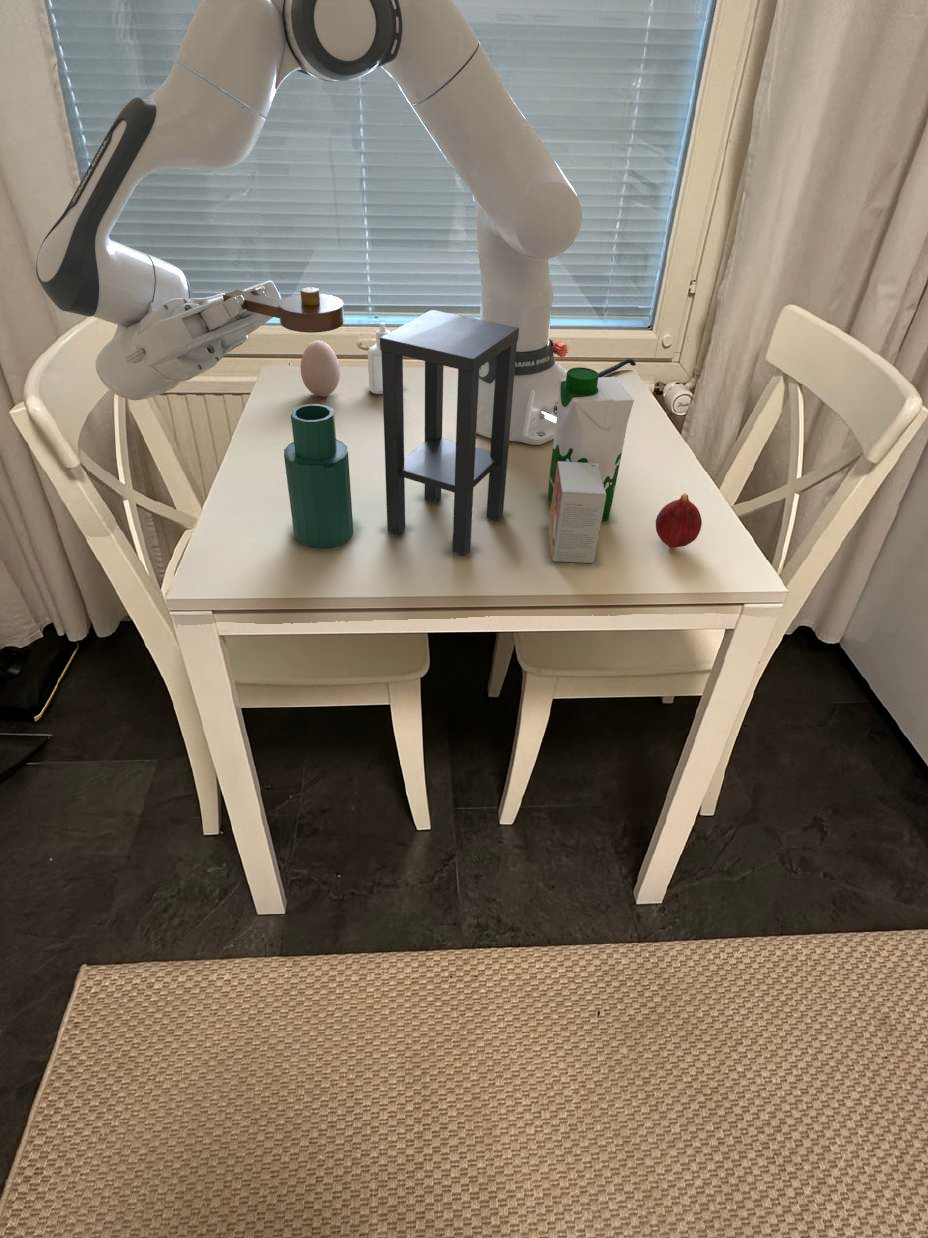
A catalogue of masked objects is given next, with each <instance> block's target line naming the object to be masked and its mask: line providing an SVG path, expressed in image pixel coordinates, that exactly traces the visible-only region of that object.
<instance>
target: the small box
mask: <svg viewBox="0 0 928 1238" xmlns="http://www.w3.org/2000/svg"><path fill="white" fill-rule="evenodd" d="M605 500H606V492H605V488H604V484H603V480H602V476H601V471H600V464H598V463H580V462H561V461H558V462H557V467H556V475H555V482H554V489H553V496H552V504H551V503H550V512H549V517H548V518H549V520H548V527H547V529H548V535H549V546H550V553H551V555H550V556H551V562H560V563H561V562H562V563H564V562H565V563H581V564H594V562H595V558H596V552H597V547H598V541H599V536H600V531H601V526H602V521H603V520H602V516H603V511H604V505H605Z"/></svg>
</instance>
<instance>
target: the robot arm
mask: <svg viewBox="0 0 928 1238" xmlns="http://www.w3.org/2000/svg"><path fill="white" fill-rule="evenodd" d="M175 59H176V60H174V63H173V65H172V68H171V70H170V72H169V73H168V76H167V77H166V79H165V80H164V81H163V82H162V83H161V84H160V86H158V88H157V89H156V90H155V91H153V92H152V93H151V94H150V95H148V96H146V97H145V96H142V97H134V98H132V99H131V100H129V101H128V102H127V103H126V105H125V106H124V107H123V108H122V110H121V111H120V112H119V114H118V115H117V117H116V119H115V120H114V121H113V123H112V125H111V126H110V128H109V130H108V131H107V133H106V134H105V137H104V138H103V140H102V142H101V144H100V146H99V147H98V149H97V150H96V153H95V155H94V156H93V158H92V160H91V162H90V164H89V166H88V167H87V170H86V171H85V173H84V175H83V177H82V178H81V181H80V182H79V184H78V186H77V187H76V189H75V192H74V193H73V195H72V197H71V199H70V201H69V203H68V205H67V206H66V208H65V210H64V211H63V213H62V214H61V216H60V217H59V218H58V220H57V221H56V222H55V223H54V225H53V226H52V228H50V230H49V231H48V232H47V234H46V235H45V237H44V239H43V241H42V243H41V245H40V247H39V250H38V253H37V257H36V262H35V273H36V278H37V279H38V282H39V284H40V286H41V288H42V290H43V291H44V292H45V294H46V295H47V297H48V298H49V300H50V301H51V302H52V303H53V304H54V305H55V306H56V307H57V308H58V309H59V310H61V312H67V313H70V314H75V315H80V316H85V317H88V318H92V317H93V318H95V319H99V320H102V321H105V322H107V323H111V324H114V325H117V326H116V330H115V332H114V334H113V337H112V339H111V340H110V341H108V342H107V343H106V345H104V346H103V348H102V349H101V350H100V352H99V353H98V355H97V356H96V359H95V370H96V373H97V376H98V378H99V380H100V381H101V383H102V384H103V385H104V386H105V387H106V388H107V389H108V390H109V391H110V392H111V393H113V394H115V395H116V396H118V397H120V398H123V399H125V400H129V401H143V400H148V399H152V398H155V397H158V396H161V395H162V394H164V393H166V392H168V391H170V390H172V389H174V388H175V387H177V386H178V385H179V384H180V383H182V382H183V383H184V382H186V381H190V380H192V379H193V378H195V377H197V376H199V375H201V374H202V373H205V372H206V371H209V370H210V369H212V368H214V367H215V366H216V365H217V364H218V363H219V362H220V361H221V360H222V359H223V358H224V357H226V355H227V354H228V353H230V352H231V351H233V350H234V349H235V348H237V347H239V346H241V345H243V344H244V343H245V342H248V340H249V336H248V335H250V334H251V333H254V331H256V330H257V329H259V328H260V327H262V326H263V325H264V324H266V323H267V322H268V321H270V320H271V319H273V318H274V317H271V316H267V315H263V314H259V313H254V312H250V311H246V310H247V309H248V306H247V304H246V303H245V302H244V298H243V297H242V295H237V296H234V297H232V298H229V299H228V300H226V301H224V300H223V295H224V294H225V292H221V293H217V294H213V295H209V296H204V297H203V296H202V297H195V295H194V292H193V289H192V287H191V283H190V281H189V280H188V279H189V278H187V276H186V274H185V273H184V271H183V270H182V269H181V268H180V267H179V266H176V265H174V264H172V263H170V262H168V261H165V260H163V259H160V258H159V257H156V256H153V255H151V254H149V253H146V252H142V251H140V250H137V249H134V248H132V247H130V246H127V245H125V244H122V243H120V242H117V241H115V240H113V239H110V238H109V237H110V234H111V232H112V230H113V228H114V226H115V225H116V223H117V221H118V220H119V218H120V216H121V214H122V213H123V211H124V209H125V207H126V205H127V203H128V202H129V200H130V198H131V196H132V194H133V193H134V191H135V189H136V187H137V185H138V184H139V183H140V182H141V181H142V180H143V179H144V178H145V177H147V176H149V175H150V174H152V173H155V172H158V171H166V170H185V171H186V170H187V171H195V172H207V173H208V172H209V173H210V172H220V171H221V172H222V171H225V170H228V169H231V168H234V167H236V166H238V165H240V164H242V163H243V162H244V161H246V160H247V158H248V157H249V156H250V154H251V153H252V151H253V150H254V148H255V146H256V144H257V142H258V140H259V138H260V135H261V133H262V130H263V128H264V125H265V122H266V118H268V114H269V113H270V112H269V111H270V109H271V106H272V103H273V101H274V99H275V95H276V93H277V91H278V90H279V88H280V87H281V85H282V83H283V82H284V80H285V79H286V78H287V77H289V75H291V74H292V73H294V72H299V73H302V74H304V75H307V76H310V77H314V78H316V79H318V80H321V81H324V82H328V83H329V82H330V83H339V82H349V81H354V80H357V79H360V78H362V77H365V76H367V75H368V74H370V73H371V72H373V71H375V70H377V69H379V68H381V69H383V70H384V71H385V72H386V73H387V74H388V76H390V77H391V79H392V80H393V81H395V83H396V84H397V86H398V87H399V89H400V91H401V92H402V94H403V95H404V96H403V97H405V99H406V101H407V102H408V103H409V105H410V107H411V108H412V110H413V111H414V113H415V115H416V116H417V117H418V119H419V121H420V122H421V124H422V125H423V127H424V128H425V130H426V131H427V133H428V134H429V135H430V137H431V139H432V140H433V142H434V143H435V145H436V146H437V148H438V149H439V151H440V152H441V154H442V155H443V157H444V159H445V160H446V161H447V163H448V164H449V165H450V166H451V167H452V169H453V171H455V173H456V174H457V176H458V177H459V178H460V180H461V181H462V182H463V184H464V185H465V186H466V188H467V189H468V190H469V191H470V193H471V194H472V197H473V198H472V200H473V203H474V208H475V209H474V210H475V219H476V220H475V221H476V236H477V237H476V239H477V240H476V241H477V251H478V252H477V253H478V263H479V264H478V265H479V272H480V274H479V275H480V310H479V320H484V321H488V322H493V323H498V324H503V325H507V326H512V327H517V328H519V335H518V341H517V348H516V360H515V373H514V385H513V398H512V410H511V422H510V435H509V442H519V443H523V444H527V445H531V446H539V445H544V444H546V443H547V442H550V441H552V440H554V434H555V426H556V417H557V405H558V390H559V379H560V378H566V376H567V371H568V370H566V369H565V368H564V367H562V366H561V365H560V364H559V363H557V362H556V359H555V355H557V356H558V357H560V358H564V357H566V356H567V354H568V352H569V346H568V345H567V344H566V343H562V341H558V340H557V341H556V342H554V340H552V339H550V327H551V326H550V325H551V319H552V318H551V317H552V308H553V299H554V287H553V286H554V285H553V281H552V279H551V273H550V264H549V259H553V258H557V257H558V256H560V255H562V254H564V253H565V252H566V251H567V250H568V249H570V247H571V246H572V245H573V244H574V242H575V241H576V239H577V237H578V235H579V233H580V231H581V226H582V221H583V209H582V204H581V201H580V198H579V196H578V195H577V193H576V191H575V190H574V188H573V186H572V184H571V183H570V182H569V181H568V179H567V178H566V176H565V174H564V173H563V171H562V170H561V168H560V167H559V165H558V163H557V162H556V161H555V159H554V157H553V156H552V154H551V153H550V152H549V150H548V149H547V147H546V145H545V144H544V142H543V141H542V140H541V138H540V136H539V135H538V134H537V132H536V130H535V129H534V128H533V126H532V125H531V124H530V123H529V121H528V119H527V118H526V117H525V116H524V114H523V113H522V111H521V110H520V109H519V107H518V105H517V104H516V103H515V101H514V100H513V98H512V96H511V95H510V93H509V91H508V89H507V87H506V86H505V84H504V82H503V80H502V79H501V76H500V75H499V73H498V72H497V70H496V68H495V66H494V64H493V63H492V61H491V59H490V58H489V56H488V54H487V52H486V50H485V49H484V47H483V45H482V43H481V42H480V41H479V38H478V36H477V35H476V33H475V32H474V30H473V28H472V26H471V25H470V23H469V22H468V20H467V19H466V17H465V15H464V14H463V12H462V11H461V9H460V8H459V7H458V6H457V4H456V3H455V1H454V0H201V2H200V3H199V5H198V7H197V9H196V11H195V12H194V15H193V17H192V19H191V21H190V23H189V25H188V27H187V29H186V32H185V34H184V36H183V38H182V41H181V43H180V45H179V49H178V51H177V54H176V56H175ZM186 66H187V67H186ZM240 290H241V291H246V292H250V293H255V294H259V295H263V296H268V297H272V298H277V299H282V296H281V294H280V292H279V291H278V288H277V287H276V285H275V283H274V282H273V280H265V281H262V282H259V283H256V284H253V285H251V286H248V287H246V288H243V289H240ZM554 354H555V355H554ZM496 358H497V356H495V357H494V358H492V359H491V360H490V361H488V362H487V363H485V364H484V365H482V366H481V367H480V368H479V386H478V407H477V427H476V435H477V434H478V435H480V436H482V437H485V438H488V439H491V436H492V420H493V405H494V389H495V373H496ZM628 364H630V366H632V367H633V366H635V367H636V366H637V363H636V361H635V360H634V359H632V358H625V359H623V360H621V361H620V362H618V363H617V364H615V365H613V366H610V367H608V368H606V369H603V370H602V371H600V372H597V373H598V375H599V376H598V377H606V375H608V374H611V373H613V372H616V371H618V370H620V369H621V368H622V367H625V365H628Z"/></svg>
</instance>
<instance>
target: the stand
mask: <svg viewBox="0 0 928 1238" xmlns="http://www.w3.org/2000/svg"><path fill="white" fill-rule="evenodd" d="M518 335H519V328H517V327H512V326H507V325H503V324H498V323H493V322H488V321H484V320H480V318H479V319H478V318H474V317H469V316H464V315H459V314H454V313H450V312H445V311H442V310H441V311H440V310H435V309H430V310H428V311H426V312H425V313H423V314H421V315H419V316H417V317H415V318H414V319H412V320H410V321H408V322H406V323H405V324H403V325H400V326H399V327H397V328H396V329H393V330H391V331H390V333H388V334H386V335H384V336H382V337H380V350H381V354H382V384H383V394H382V404H383V405H382V409H383V410H382V411H383V438H384V439H383V440H384V441H383V442H384V469H385V472H384V473H385V498H386V525H387V527H386V528H387V530H386V531H388V532H389V533H393V534H396V535H400V534H401V533H402V532H403V531H404V530H405V529H406V486H405V483H406V482H405V481H406V479H407V480H410V481H414V482H417V483H421V484H424V497H423V498H424V499H425V500H429V501H431V502H436V501H437V500H439V499H440V498H441V497H442V490H443V491H448V492H450V493H453V520H452V521H453V522H452V523H453V524H452V550H451V551H452V553H453V554H456V555H460V556H463V557H464V556H465V557H466V555H467V554H468V553H469V552H470V551H471V544H472V524H473V506H474V504H473V503H474V488H475V487H476V486H477V485H478V484H479V483H480V482H481V481H482V480H483V479H484V478H485V477H486V476H487V475H488V485H487V499H486V500H487V501H486V516H485V517H486V518H487V519H490V520H493V521H497V522H498V521H499V520H500V519H501V518H502V517H503V516H504V508H505V495H506V486H507V485H506V483H507V470H508V459H509V445H510V441H509V435H510V422H511V410H512V398H513V385H514V373H515V360H516V348H517V341H518ZM495 356H497V358H496V373H495V389H494V405H493V420H492V436H491V438H490V450H486V449H482V448H479V447H476V443H477V433H476V427H477V407H478V386H479V368H480V367H481V366H482V365H484V364H485V363H487V362H488V361H490V360H491V359H492V358H494V357H495ZM404 357H405V358H406V357H407V358H411V359H414V360H418V361H423V362H424V441H423V442H422V443H421V444H420V445H418V447H416V448H415V449H413V450H412V451H411V452H410V453H408V454H407V455H406V456H405V426H404V425H405V422H404V421H405V417H404V362H403V360H404ZM444 367H449V368H451V369H455V370H457V395H456V396H457V397H456V399H457V400H456V423H455V424H456V427H455V429H456V430H455V441H453V440H450V439H446V438H443V418H444V417H443V412H444V411H443V409H444Z"/></svg>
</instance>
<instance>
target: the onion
mask: <svg viewBox="0 0 928 1238" xmlns="http://www.w3.org/2000/svg"><path fill="white" fill-rule="evenodd" d="M702 521H703V520H702V516H701V513H700V510H699V508H698V507H697V506H696V505H695V504H694V503H693V502H692V501H691V500H690V499H689V494H687V493H685V492H683V493H682V494H681V496H680V497H679V499H675V500H673V501H671V502H669V503H667V504H665V505H664V506H663V507H662V508H661V509H660V510H659V512H658V514H657V516H656V519H655V531H656V534H657V536H658V538H659V539H660V540H661V542H662V543H664V545H666V546H667V547H669V548H671V549H675V548H684V547H686V546H688V545H689V544H691V543H693V542H694V541H695V540H697V538H698V537H699V534H700V532H701V529H702V525H703V522H702Z"/></svg>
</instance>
